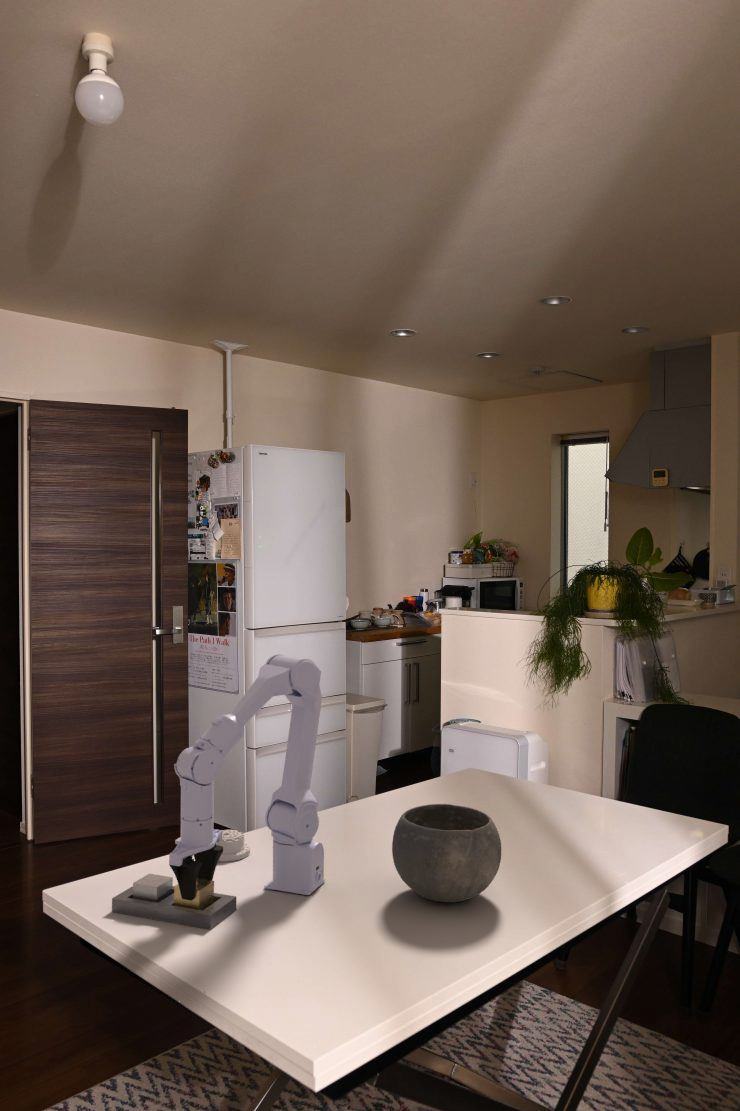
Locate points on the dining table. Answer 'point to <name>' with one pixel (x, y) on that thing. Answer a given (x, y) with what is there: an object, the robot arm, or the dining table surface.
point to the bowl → (446, 851)
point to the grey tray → (175, 909)
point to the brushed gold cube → (197, 896)
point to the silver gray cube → (153, 888)
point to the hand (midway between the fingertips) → (196, 893)
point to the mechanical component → (233, 846)
